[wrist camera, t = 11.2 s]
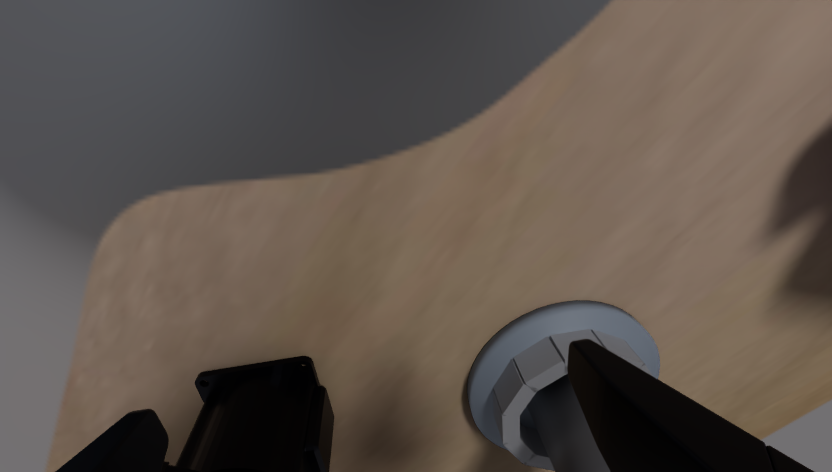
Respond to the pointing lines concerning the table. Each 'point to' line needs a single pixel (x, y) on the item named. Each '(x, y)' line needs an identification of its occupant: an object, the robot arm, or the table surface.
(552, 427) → the grey domed cylinder
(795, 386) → the table surface
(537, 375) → the ring
